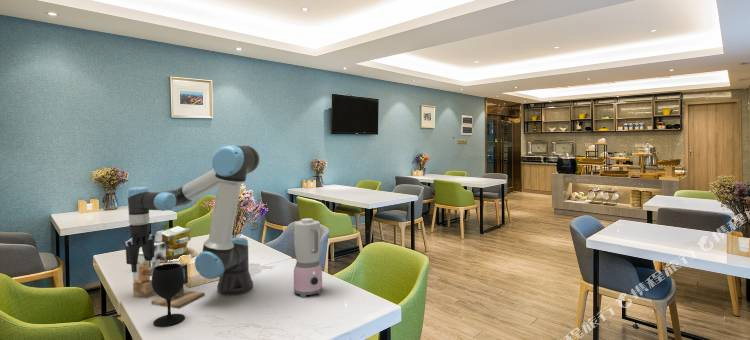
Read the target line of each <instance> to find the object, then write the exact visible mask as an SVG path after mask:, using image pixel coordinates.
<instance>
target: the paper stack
mask: <svg viewBox="0 0 750 340" xmlns="http://www.w3.org/2000/svg"><path fill="white" fill-rule="evenodd" d="M157 232H161V233H162V242H164V243H165V246H166V257H165V258H162V259H160V263H166V262H165V261H168V260H169V261H170V260H173V259H178V258H179V257H180V256H182V255H189V254H190V255H191V257H192V256H193V255H194V257H196V255H198V254H197V251H196V250H195V248H192V247H189V246H188V243H189V242H190V241H191V240H192V237H191V229H190V227H182V226H180V225H177V226H175V227H170V228H166V229H163V230H159V231H156V232H155V233H157ZM192 258H193V257H192Z"/></svg>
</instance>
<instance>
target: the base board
mask: <svg viewBox="0 0 750 340" xmlns="http://www.w3.org/2000/svg"><path fill="white" fill-rule="evenodd" d="M205 293H206V292H203V291H193V290H185V289H184V296H183V297H181V298H179V299H177V298H174V297H173V298H172V299H171V306H170V307H171V308H175V309H182V308H183V307H185V306H187V305H189V304H191V303H193V302H194V301H196V300H199V299H200V298H202V297H203V298H204V297H205V296H206V295H205ZM151 305H154V306H160V307H167V301H166V299H164V298H162V297H160V296H159V297H158V298H156V299H154V300H152V301H151Z"/></svg>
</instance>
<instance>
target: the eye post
mask: <svg viewBox="0 0 750 340" xmlns="http://www.w3.org/2000/svg"><path fill="white" fill-rule="evenodd" d="M179 264H180V265H181V267H182V270H183V274H184V283H183V286H182V288H181V290H180V291H179V292H178V293H177V294H176V295H175V296H174V298H177V299H179V298H181V297H183V296H184V290H185V289H184V287H185V285H186V284H188V283H189V281H188V280H189V276H188V275H189V274H188V273H189V272H188V263H179Z"/></svg>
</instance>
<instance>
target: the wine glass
mask: <svg viewBox="0 0 750 340" xmlns="http://www.w3.org/2000/svg"><path fill="white" fill-rule="evenodd" d="M180 264H181V263H177V262H170V263H164V264H160V265H159V266H157V267H155V268H154V270H153V274H152V276H151V280H152V288H153V290H154V292H155V293H156V294H155V295H156V296H157V295H158V297H159V298H160V297H162V298H164V299H166V301H167V306H166V308H167V314H165V315H161V316H159V317H158V318H156V319H154V321H153V326H154V327H158V328H165V327H172V326H175V325H178V324H180V323H181V324H182V322H183V321H184V320H185V319H186V316H185V315H184V314H182V313H172V311H171V308H172V307H170V306H171V299H172V298H173V297H174V296H175V295H176V294H177V293H178V292H179V291H180V290H181V288H182V286H184V285H183V283H184V274H183V270H182V267H181V265H180Z"/></svg>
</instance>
